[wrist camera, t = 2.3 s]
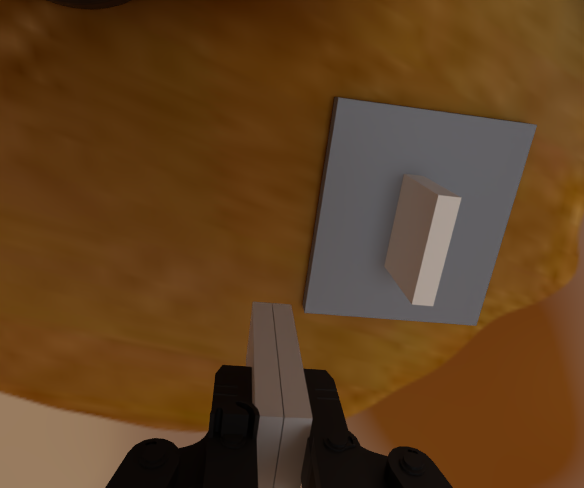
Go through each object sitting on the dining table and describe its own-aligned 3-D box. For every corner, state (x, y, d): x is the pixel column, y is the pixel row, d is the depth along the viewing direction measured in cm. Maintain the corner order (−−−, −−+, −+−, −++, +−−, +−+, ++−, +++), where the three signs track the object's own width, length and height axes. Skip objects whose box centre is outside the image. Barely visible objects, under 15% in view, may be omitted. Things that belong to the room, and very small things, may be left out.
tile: (404, 173, 36) (438, 194, 30) (424, 176, 36) (463, 197, 30) (384, 266, 39) (411, 304, 32) (403, 267, 39) (435, 306, 33)
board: (334, 96, 35) (338, 97, 34) (526, 123, 37) (536, 125, 36) (302, 304, 41) (304, 312, 40) (468, 317, 43) (476, 325, 42)
